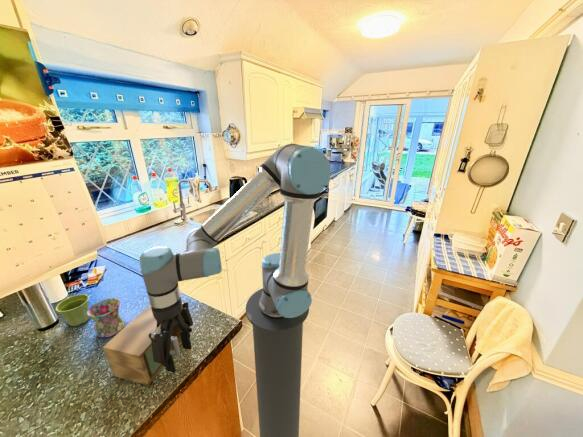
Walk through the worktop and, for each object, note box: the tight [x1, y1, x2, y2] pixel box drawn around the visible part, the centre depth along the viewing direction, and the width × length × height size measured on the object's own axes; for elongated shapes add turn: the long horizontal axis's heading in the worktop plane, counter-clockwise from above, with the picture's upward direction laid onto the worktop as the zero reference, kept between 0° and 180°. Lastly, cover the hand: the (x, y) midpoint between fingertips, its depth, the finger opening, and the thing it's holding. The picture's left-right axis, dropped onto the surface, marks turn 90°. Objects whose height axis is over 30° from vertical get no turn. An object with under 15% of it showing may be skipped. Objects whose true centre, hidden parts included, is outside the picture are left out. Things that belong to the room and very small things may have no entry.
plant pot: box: [55, 293, 91, 327], centre depth 89 cm, size 9×9×9 cm
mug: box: [87, 297, 126, 339], centre depth 83 cm, size 12×9×11 cm
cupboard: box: [102, 304, 183, 386], centre depth 75 cm, size 12×18×12 cm
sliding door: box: [144, 336, 182, 375], centre depth 71 cm, size 6×7×10 cm
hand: (179, 358), depth 73 cm, fingers open, 7 cm apart
